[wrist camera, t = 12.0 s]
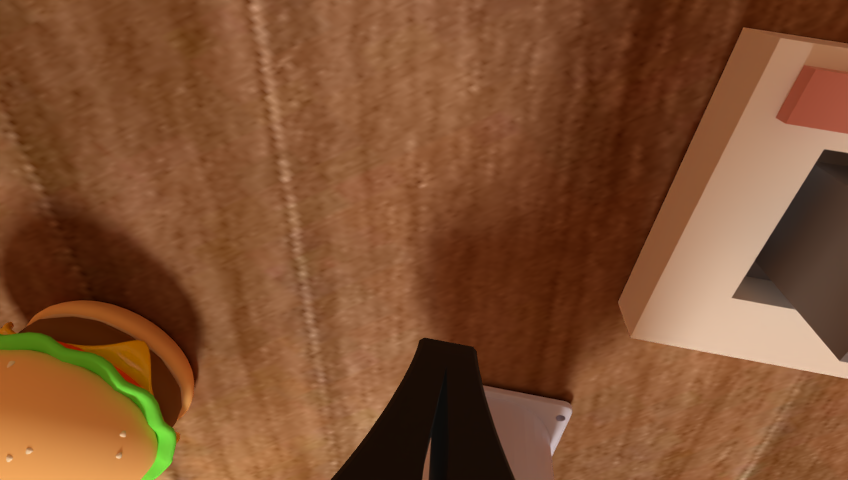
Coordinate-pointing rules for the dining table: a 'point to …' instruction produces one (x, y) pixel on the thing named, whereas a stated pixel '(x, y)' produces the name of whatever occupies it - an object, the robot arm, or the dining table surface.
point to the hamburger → (90, 395)
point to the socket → (743, 206)
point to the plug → (815, 255)
